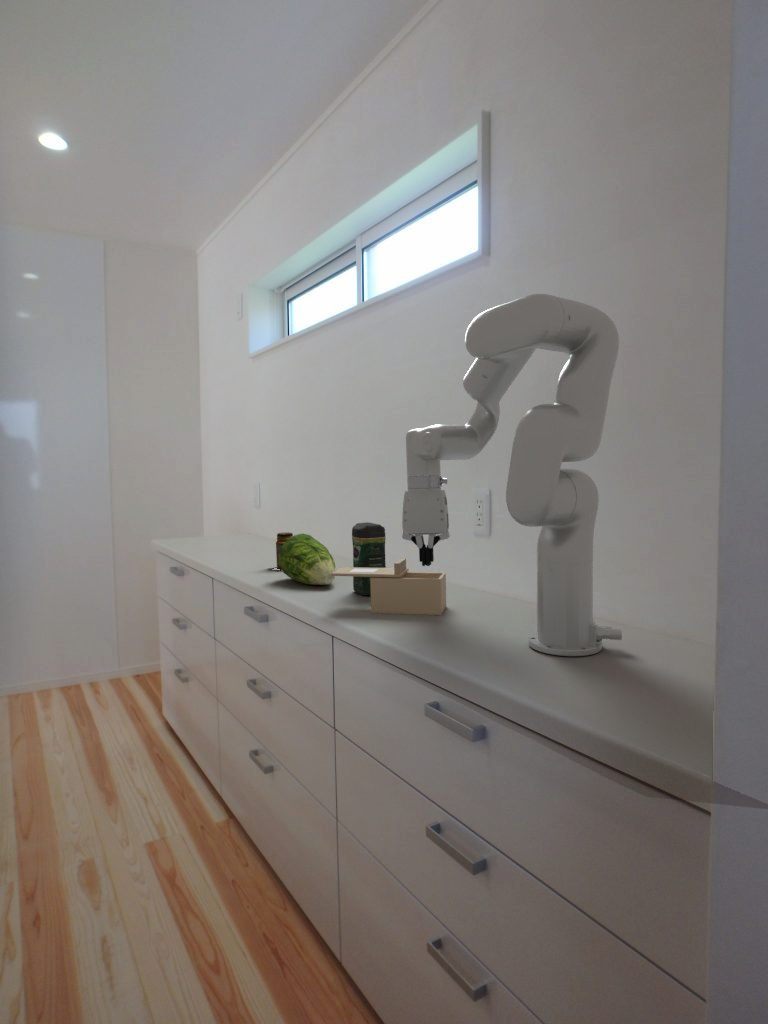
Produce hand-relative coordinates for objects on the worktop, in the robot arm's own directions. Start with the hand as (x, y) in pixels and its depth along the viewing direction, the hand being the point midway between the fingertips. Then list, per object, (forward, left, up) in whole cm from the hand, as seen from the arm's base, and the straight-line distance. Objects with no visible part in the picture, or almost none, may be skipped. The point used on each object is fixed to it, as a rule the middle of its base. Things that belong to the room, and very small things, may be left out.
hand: (426, 564), depth 133 cm
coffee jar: (+18, -17, -11) cm, 27 cm away
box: (+4, 0, -11) cm, 11 cm away
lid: (+13, 0, -2) cm, 14 cm away
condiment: (+57, -50, -11) cm, 77 cm away
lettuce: (+39, -28, -11) cm, 49 cm away
